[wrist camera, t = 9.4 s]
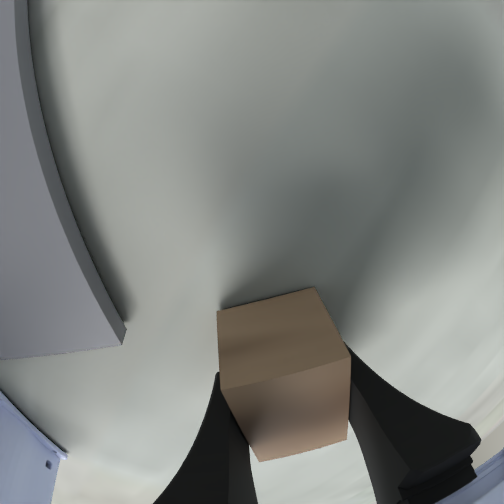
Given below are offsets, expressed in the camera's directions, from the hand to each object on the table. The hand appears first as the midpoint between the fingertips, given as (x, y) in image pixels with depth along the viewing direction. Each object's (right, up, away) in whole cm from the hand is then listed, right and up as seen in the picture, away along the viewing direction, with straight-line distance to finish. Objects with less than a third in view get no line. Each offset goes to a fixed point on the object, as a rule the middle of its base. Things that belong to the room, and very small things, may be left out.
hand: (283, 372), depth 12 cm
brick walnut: (0, +1, +1) cm, 1 cm away
